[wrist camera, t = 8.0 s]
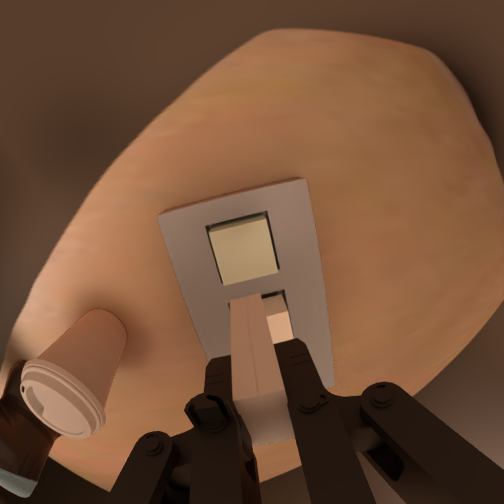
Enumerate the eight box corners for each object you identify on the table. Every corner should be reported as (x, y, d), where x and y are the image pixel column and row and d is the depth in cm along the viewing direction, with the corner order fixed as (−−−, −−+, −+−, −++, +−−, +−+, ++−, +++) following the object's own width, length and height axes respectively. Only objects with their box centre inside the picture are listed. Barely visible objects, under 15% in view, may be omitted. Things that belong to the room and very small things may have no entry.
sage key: (224, 272, 28) (224, 285, 25) (211, 225, 27) (208, 233, 23) (272, 260, 28) (278, 272, 25) (261, 212, 27) (266, 218, 23)
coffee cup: (105, 284, 29) (37, 360, 15) (153, 345, 32) (119, 439, 17) (62, 315, 30) (2, 384, 15) (105, 368, 32) (67, 447, 18)
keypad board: (230, 395, 35) (230, 410, 32) (164, 210, 27) (156, 215, 24) (328, 371, 35) (334, 385, 32) (298, 177, 27) (305, 178, 24)
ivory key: (244, 345, 29) (246, 365, 25) (232, 306, 27) (232, 324, 24) (289, 334, 29) (296, 353, 25) (281, 294, 27) (288, 311, 24)
